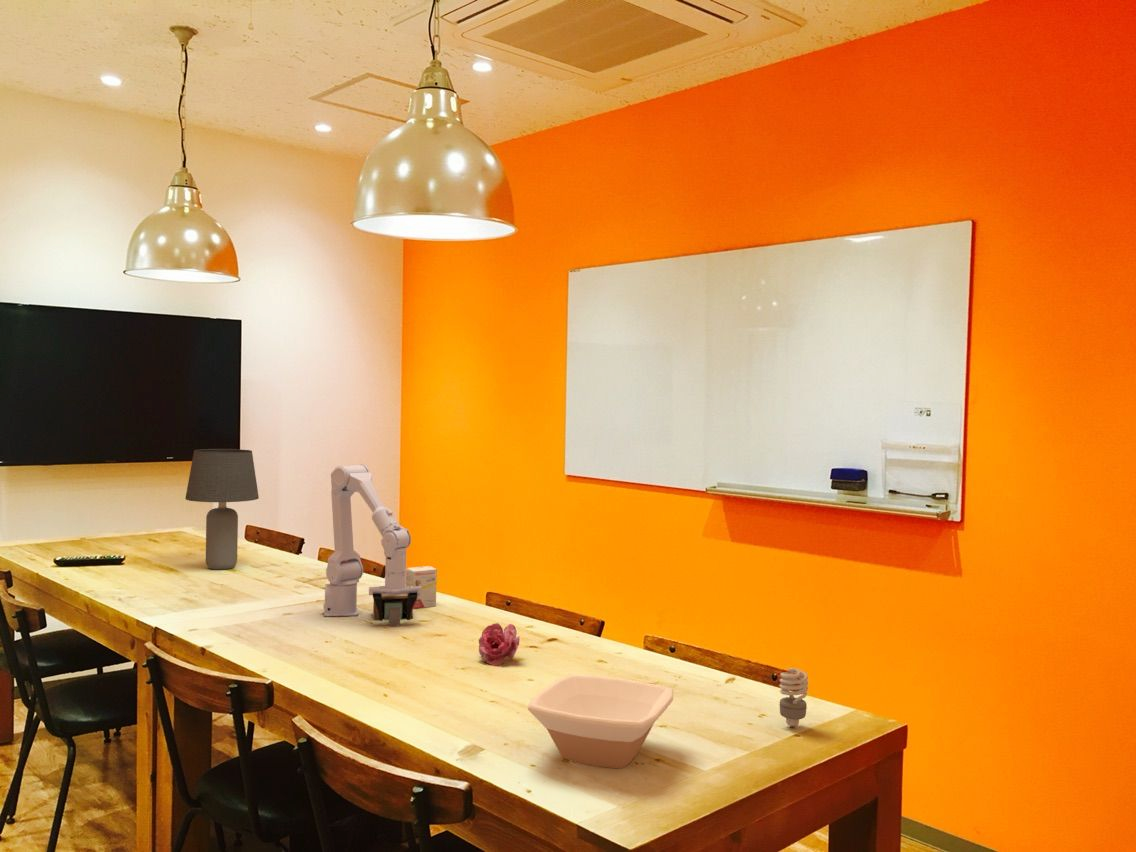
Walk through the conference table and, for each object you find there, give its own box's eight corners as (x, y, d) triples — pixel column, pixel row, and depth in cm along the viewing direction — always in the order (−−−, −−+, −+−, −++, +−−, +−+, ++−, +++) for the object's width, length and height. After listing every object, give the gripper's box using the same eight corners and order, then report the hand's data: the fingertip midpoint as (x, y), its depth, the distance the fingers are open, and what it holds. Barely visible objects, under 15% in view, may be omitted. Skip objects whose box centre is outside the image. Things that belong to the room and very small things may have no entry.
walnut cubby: (374, 619, 268) (374, 596, 268) (373, 613, 276) (373, 590, 276) (412, 618, 270) (413, 595, 270) (410, 612, 278) (411, 590, 278)
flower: (497, 680, 225) (474, 647, 223) (489, 672, 234) (467, 640, 233) (535, 651, 227) (512, 618, 226) (525, 644, 237) (503, 612, 236)
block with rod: (385, 626, 261) (385, 610, 261) (383, 614, 274) (384, 599, 274) (403, 625, 262) (403, 609, 262) (400, 614, 276) (401, 599, 275)
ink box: (411, 609, 282) (412, 570, 282) (404, 606, 286) (405, 568, 286) (436, 606, 287) (437, 568, 287) (429, 603, 291) (430, 565, 291)
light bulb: (774, 722, 191) (776, 664, 190) (801, 722, 191) (803, 664, 191) (783, 732, 185) (785, 672, 185) (810, 732, 186) (812, 672, 185)
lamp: (243, 575, 327) (245, 453, 326) (172, 573, 327) (173, 451, 326) (267, 562, 352) (269, 449, 351) (201, 560, 352) (203, 447, 351)
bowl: (515, 766, 164) (517, 707, 164) (565, 722, 187) (567, 670, 187) (644, 790, 156) (646, 727, 156) (680, 741, 179) (682, 686, 179)
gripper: (369, 574, 257) (368, 623, 257) (422, 574, 260) (421, 622, 261) (369, 570, 264) (368, 617, 264) (420, 569, 267) (419, 616, 268)
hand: (394, 619), depth 263 cm, fingers open, 7 cm apart
